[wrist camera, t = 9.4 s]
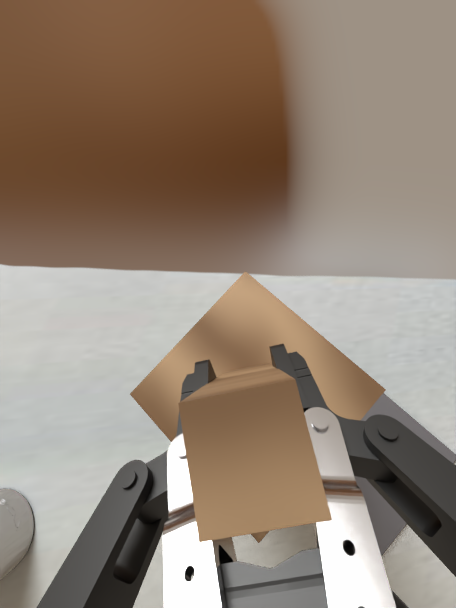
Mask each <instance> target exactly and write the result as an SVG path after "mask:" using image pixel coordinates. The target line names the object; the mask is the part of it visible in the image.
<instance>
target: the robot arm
mask: <svg viewBox="0 0 456 608" xmlns="http://www.w3.org/2000/svg"><path fill="white" fill-rule="evenodd" d="M269 348H270V354H271V360H272V366H273V367H275V368H276V369H280V370H281V371H283V372H285V373H286V374H288V375H289V376H291V377H293V378H294V379H295V380H296V384H297V387H298V391H299V395H300V399H301V403H302V407H303V410H304V414H305V418H306V422H307V426H308V430H309V433H310V437H311V441H312V445H313V449H314V453H315V457H316V460H317V464H318V468H319V472H320V476H321V480H322V483H323V487H324V491H325V495H326V499H327V503H328V506H329V510H330V514H331V518H332V520H328V521H323V522H317V523H313V525H314V532H315V540H316V547H317V548H316V549H310V550H304V551H301V552H299V553H297V554H296V555H294V556H292V557H291V558H289V559H287V560H286V561H284V562H282V563H281V564H279V565H277V566H276V567H274V568H265V567H261V566H256V565H252V564H248V563H243V562H239V561H237V558H236V554H235V549H234V545H233V541H232V537H228V538H222V539H216V540H210V541H204V542H199V538H198V531H197V524H196V518H195V511H194V504H193V498H192V491H191V484H190V478H189V471H188V465H187V458H186V451H185V445H184V438H183V431H182V425H181V418H180V411H179V417H178V426H177V434H176V437H175V439H174V440H173V441H172V442H171V444H170V446H169V448H168V450H167V451H166V452H165V453H163V454H162V455H160V456H158V457H157V458H155V459H153V460H151V461H150V462H148V463H146V464H145V463H144V462H143V461H141V460H133V461H131V462H129V463H127V464H126V465H124V466H123V467H122V468H121V469H120V470H119V471H118V473H117V474H116V476H115V478H114V479H113V481H112V483H111V484H110V486H109V488H108V489H107V491H106V493H105V494H104V496H103V498H102V499H101V501H100V503H99V504H98V506H97V508H96V509H95V511H94V513H93V514H92V516H91V518H90V519H89V521H88V523H87V524H86V526H85V528H84V529H83V531H82V533H81V534H80V536H79V538H78V539H77V541H76V543H75V545H74V546H73V548H72V550H71V551H70V553H69V555H68V556H67V558H66V560H65V561H64V563H63V565H62V566H61V568H60V570H59V571H58V573H57V575H56V576H55V578H54V580H53V581H52V583H51V585H50V586H49V588H48V590H47V591H46V593H45V595H44V596H43V598H42V600H41V601H40V603H39V605H38V606H37V608H133V605H134V603H135V600H136V598H137V595H138V593H139V590H140V587H141V585H142V582H143V580H144V577H145V575H146V572H147V570H148V567H149V565H150V562H151V560H152V557H153V555H154V552H155V550H156V547H157V545H158V542H159V540H160V537H161V535H162V532H163V577H164V608H408V607H407V606H406V605H405V603H404V602H403V601H402V600H401V599H400V598H399V597H398V596H397V595H396V594H395V593H394V592H393V591H392V590H391V588H390V584H389V581H388V577H387V574H386V571H385V567H384V564H383V560H382V557H381V554H380V550H379V547H378V543H377V540H376V536H375V533H374V530H373V526H372V523H371V519H370V516H369V513H368V509H367V506H366V502H365V499H364V496H363V494H362V491H361V489H360V488H359V487H358V485H357V483H356V481H355V477H354V476H357V477H362V478H366V479H367V481H368V482H369V483H370V484H371V485H372V486H373V487H374V488H375V489H376V490H377V491H378V493H379V494H380V495H381V496H382V497H383V498H384V499H385V500H386V501H387V502H388V503H389V505H390V506H391V507H392V508H393V509H394V510H395V511H396V512H397V513H398V514H399V515H400V517H401V518H402V519H403V520H404V521H405V522H406V523H407V524H408V525H409V526H410V527H411V529H412V530H413V531H414V532H415V533H416V534H417V535H418V536H419V537H420V538H421V540H422V541H423V542H424V543H425V544H426V545H427V546H428V547H429V548H430V549H431V550H432V552H433V553H434V554H435V555H436V556H437V557H438V558H439V559H440V560H441V561H442V562H443V564H444V565H445V566H446V567H447V568H448V569H449V570H450V571H451V572H452V573H453V574H454V576H455V577H456V465H454V464H453V463H452V462H451V461H449V460H448V459H447V458H445V457H444V456H443V455H442V454H440V453H439V452H438V451H436V450H435V449H434V448H433V447H431V446H430V445H429V444H427V443H426V442H425V441H424V440H422V439H421V438H420V437H419V436H417V435H416V434H415V433H413V432H412V431H411V430H410V429H408V428H407V427H406V426H404V425H403V424H402V423H401V422H399V421H398V420H396V419H394V418H392V417H390V416H387V415H381V414H377V415H373V416H371V417H369V418H368V419H367V420H366V421H360V420H353V419H346V418H343V417H340V416H338V415H337V414H335V413H334V412H332V411H331V410H330V409H329V408H328V406H327V405H326V403H325V401H324V399H323V397H322V395H321V392H320V390H319V388H318V386H317V384H316V382H315V380H314V378H313V376H312V374H311V371H310V369H309V368H308V365H307V363H306V361H305V359H304V358H303V357H302V356H301V355H300V354H299V353H298V352H292V353H287V350H286V348H285V345H284V344H279V345H274V346H269ZM215 378H217V377H216V375H215V372H214V369H213V367H212V364H211V361H210V360H209V359H208V360H203V361H199V362H195V368H194V373H192V374H187V376H186V378H185V379H184V381H183V383H182V391H181V399H180V402H181V401H182V400H184V399H185V398H187V397H188V396H190V395H191V394H192V393H194V392H195V391H197V390H198V389H200V388H201V387H203V386H204V385H206V384H208V383H210V382H211V381H212V380H214V379H215ZM33 528H34V522H33V515H32V511H31V508H30V506H29V504H28V502H27V500H26V499H25V498H24V497H23V496H22V495H21V494H20V493H18V492H17V491H14V490H12V489H0V580H1V579H2V578H3V577H4V576H6V575H7V574H8V573H9V572H10V571H11V570H12V569H13V568H14V567H16V566H17V564H18V563H19V562H20V561H21V560H22V559H23V557H24V556H25V554H26V553H27V551H28V549H29V546H30V544H31V540H32V536H33ZM192 575H193V576H194V578H193V580H192V581H191V576H192Z"/></svg>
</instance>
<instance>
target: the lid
mask: <svg viewBox="0 0 456 608" xmlns="http://www.w3.org/2000/svg"><path fill="white" fill-rule="evenodd" d="M279 344H284V345H285V348H286V350H287V353H292V352H298V353H299V354H300V355H301V356H302V357H303V358H304V359H305V361H306V363H307V365H308V368H309V369H310V371H311V374H312V376H313V378H314V380H315V382H316V384H317V386H318V388H319V390H320V392H321V395H322V397H323V399H324V401H325V403H326V405H327V406H328V408H329V409H330V410H331V411H332V412H334V413H335V414H337V415H338V416H340V417H343V418H346V419H353V420H361V419H362V418H363V417H364V416H365V414H366V413H367V412H368V411H369V410H370V408H371V407H372V406H373V405H374V404H375V402H376V401H377V400H378V399H379V398H380V396H381V395H382V394H383V393H384V391H385V389H384V388H383V387H382V386H381V385H380V384H378V383H377V382H376V381H375V380H374V379H372V378H371V377H370V376H369V375H368V374H366V373H365V372H364V371H363V370H362V369H361V368H359V367H358V366H357V365H356V364H355V363H353V362H352V361H351V360H350V359H349V358H348V357H346V356H345V355H344V354H343V353H342V352H340V351H339V350H338V349H337V348H336V347H334V346H333V345H332V344H331V343H330V342H329V341H327V340H326V339H325V338H324V337H323V336H321V335H320V334H319V333H318V332H317V331H316V330H314V329H313V328H312V327H311V326H310V325H308V324H307V323H306V322H305V321H304V320H302V319H301V318H300V317H299V316H298V315H297V314H295V313H294V312H293V311H292V310H291V309H289V308H288V307H287V306H286V305H285V304H284V303H282V302H281V301H280V300H279V299H278V298H276V297H275V296H274V295H273V294H272V293H270V292H269V291H268V290H267V289H266V288H265V287H263V286H262V285H261V284H260V283H259V282H257V281H256V280H255V279H254V278H253V277H251V276H250V275H249V274H248V273H247V272H244V273H243V275H242V276H241V277H240V278H239V279H238V280H237V281H236V282H235V283H234V284H233V285H232V286H231V287H230V288H229V289H228V290H227V292H226V293H225V294H224V295H223V296H222V297H221V298H220V299H219V300H218V301H217V302H216V303H215V304H214V305H213V306H212V307H211V309H210V310H209V311H208V312H207V313H206V314H205V315H204V316H203V317H202V318H201V319H200V320H199V321H198V322H197V323H196V324H195V326H194V327H193V328H192V329H191V330H190V331H189V332H188V333H187V334H186V335H185V336H184V337H183V338H182V339H181V340H180V341H179V343H178V344H177V345H176V346H175V347H174V348H173V349H172V350H171V351H170V352H169V353H168V354H167V355H166V356H165V357H164V358H163V360H162V361H161V362H160V363H159V364H158V365H157V366H156V367H155V368H154V369H153V370H152V371H151V372H150V373H149V374H148V375H147V377H146V378H145V379H144V380H143V381H142V382H141V383H140V384H139V385H138V386H137V387H136V388H135V389H134V390H133V391H132V392H131V394H130V395H131V396H132V397H133V398H134V399H135V400H136V402H137V403H138V404H139V405H140V406H141V407H142V409H143V410H144V411H145V412H146V413H147V414H148V416H149V417H150V418H151V419H152V420H153V421H154V422H155V424H156V425H157V426H158V427H159V428H160V429H161V431H162V432H163V433H164V434H165V435H166V436H167V437H168V439H169V440H170V441H171V442H172V441H173V440H174V439H175V437H176V434H177V426H178V417H179V411H180V418H181V425H182V431H183V438H184V445H185V451H186V458H187V465H188V471H189V478H190V484H191V491H192V498H193V504H194V511H195V518H196V524H197V531H198V538H199V542H204V541H210V540H216V539H222V538H228V537H234V536H240V535H246V534H251V535H252V536H253V537H254V538H255V539H256V540H257V542H258V543H259V542H260V541H261V540H262V539H263V538H264V536H265V535H266V534H267V533H268V532H269V530H275V529H281V528H287V527H293V526H299V525H305V524H311V523H317V522H323V521H328V520H332V518H331V514H330V510H329V506H328V503H327V499H326V495H325V491H324V487H323V483H322V480H321V476H320V472H319V468H318V464H317V460H316V457H315V453H314V449H313V445H312V441H311V437H310V433H309V430H308V426H307V422H306V418H305V414H304V410H303V407H302V403H301V399H300V395H299V391H298V387H297V384H296V380H295V379H294V378H293V377H291V376H289V375H288V374H286V373H285V372H283V371H281V370H280V369H276V368H275V367H273V366H272V360H271V354H270V348H269V346H274V345H279ZM208 359H209V360H210V361H211V364H212V367H213V369H214V372H215V375H216V377H217V378H215V379H214V380H212V381H211V382H210V383H208V384H206V385H204V386H203V387H201V388H200V389H198V390H197V391H195V392H194V393H192V394H191V395H190V396H188V397H187V398H185V399H184V400H182V401H181V402H180V399H181V391H182V383H183V381H184V379H185V378H186V376H187V374H192V373H194V368H195V362H199V361H203V360H208Z"/></svg>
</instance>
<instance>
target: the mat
mask: <svg viewBox="0 0 456 608" xmlns="http://www.w3.org/2000/svg"><path fill="white" fill-rule="evenodd" d="M377 414H381V415H387V416H390V417H392V418H394V419H396V420H398V421H399V422H401V423H402V424H403V425H404V426H406V427H407V428H408V429H410V430H411V431H412V432H413V433H415V434H416V435H417V436H419V437H420V438H421V439H422V440H424V441H425V442H426V443H427V444H429V445H430V446H431V447H433V448H434V449H435V450H436V451H438V452H439V453H440V454H442V455H443V456H444V457H445V458H447V459H448V460H449V461H451V462H452V463H454V462H455V461H456V454H454V453H453V452H452V451H451V450H450V449H449V448H447V447H446V446H445V445H444V444H443V443H441V442H440V441H439V440H438V439H437V438H436V437H434V436H433V435H432V434H431V433H430V432H429V431H427V430H426V429H425V428H424V427H423V426H421V425H420V424H419V423H418V422H417V421H416V420H414V419H413V418H412V417H411V416H410V415H409V414H407V413H406V412H405V411H404V410H403V409H401V408H400V407H399V406H398V405H397V404H396V403H394V402H393V401H392V400H391V399H390V398H389V397H387V396H386V395H385V394H384V393H383V394H382V395H381V396H380V398H379V399H378V400H377V401H376V402H375V404H374V405H373V406H372V407H371V408H370V410H369V411H368V412H367V413H366V414H365V416H364V417H363V418H362V419H361V420H360V421H366V420H367V419H368V418H369V417H371V416H373V415H377ZM354 477H355V481H356V483H357V485H358V487H359V488H360V489H361V491H362V494H363V496H364V499H365V502H366V506H367V509H368V513H369V516H370V519H371V523H372V526H373V530H374V533H375V536H376V540H377V543H378V547H379V550H380V554H381V556H382V555H383V553H384V552H385V551H386V549H387V548H388V547H389V546H390V544H391V543H392V542H393V540H394V539H395V538H396V537H397V535H398V534H399V533H400V531H401V530H402V529H403V528H404V526H405V525H406V524H407V523H406V522H405V521H404V520H403V519H402V518H401V517H400V515H399V514H398V513H397V512H396V511H395V510H394V509H393V508H392V507H391V506H390V505H389V503H388V502H387V501H386V500H385V499H384V498H383V497H382V496H381V495H380V494H379V493H378V491H377V490H376V489H375V488H374V487H373V486H372V485H371V484H370V483H369V482H368V481H367V479H366V478H362V477H357V476H354Z"/></svg>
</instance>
